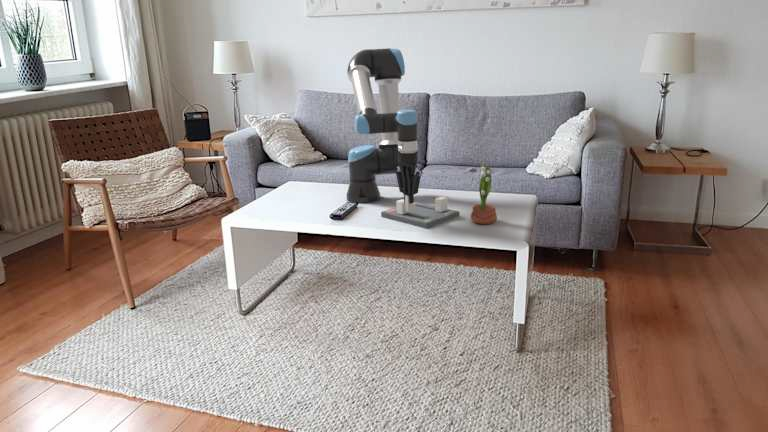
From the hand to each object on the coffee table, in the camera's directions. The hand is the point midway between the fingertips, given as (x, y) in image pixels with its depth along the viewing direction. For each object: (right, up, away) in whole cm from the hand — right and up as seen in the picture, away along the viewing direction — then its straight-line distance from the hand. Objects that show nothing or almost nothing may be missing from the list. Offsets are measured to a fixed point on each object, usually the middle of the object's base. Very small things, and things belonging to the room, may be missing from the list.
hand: (409, 210), depth 228 cm
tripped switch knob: (-2, -1, +3) cm, 4 cm away
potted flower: (+28, -5, -5) cm, 29 cm away
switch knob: (+13, 0, +4) cm, 14 cm away
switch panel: (+5, -2, +5) cm, 7 cm away
